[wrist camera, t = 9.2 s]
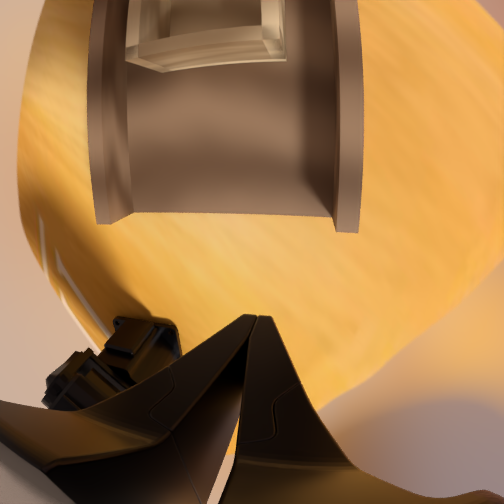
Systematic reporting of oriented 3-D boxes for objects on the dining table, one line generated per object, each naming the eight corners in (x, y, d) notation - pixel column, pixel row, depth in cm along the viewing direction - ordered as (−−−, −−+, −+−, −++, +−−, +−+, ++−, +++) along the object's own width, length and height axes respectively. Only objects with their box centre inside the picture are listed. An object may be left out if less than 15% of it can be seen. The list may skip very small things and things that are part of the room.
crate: (286, 61, 15) (279, 39, 11) (161, 72, 17) (125, 60, 13) (282, -29, 13) (274, -65, 9) (165, -13, 14) (134, -37, 10)
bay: (352, 215, 19) (369, 249, 13) (124, 209, 22) (72, 235, 16) (345, -35, 12) (353, -84, 7) (123, -7, 15) (75, -33, 10)
